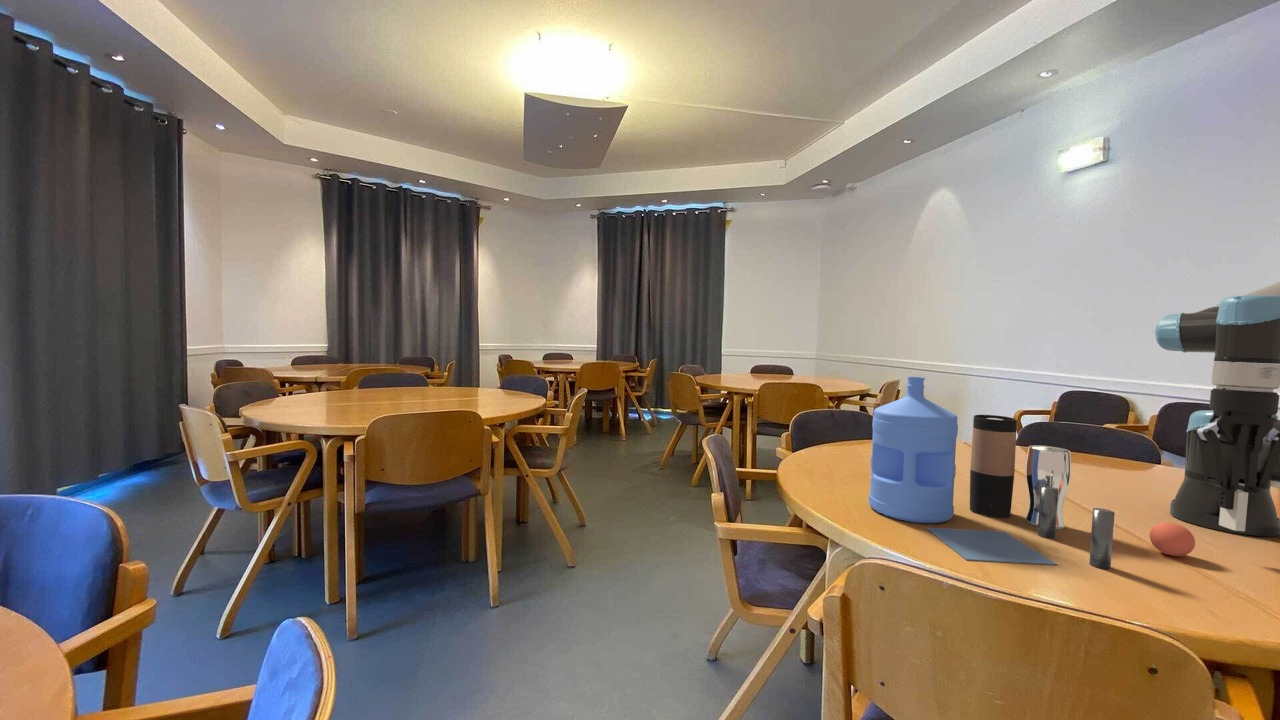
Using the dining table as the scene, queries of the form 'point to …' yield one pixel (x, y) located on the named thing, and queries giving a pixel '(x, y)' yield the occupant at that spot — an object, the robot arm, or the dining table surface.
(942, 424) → the water jug
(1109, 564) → the post
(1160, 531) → the ball
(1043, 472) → the beer glass
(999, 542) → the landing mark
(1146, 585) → the dining table surface
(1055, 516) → the post
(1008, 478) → the travel mug
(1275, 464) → the robot arm
